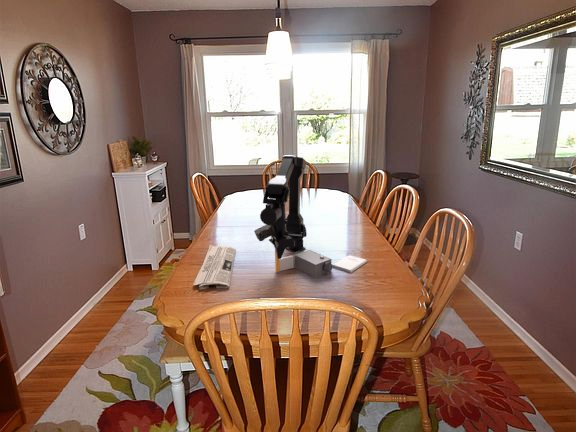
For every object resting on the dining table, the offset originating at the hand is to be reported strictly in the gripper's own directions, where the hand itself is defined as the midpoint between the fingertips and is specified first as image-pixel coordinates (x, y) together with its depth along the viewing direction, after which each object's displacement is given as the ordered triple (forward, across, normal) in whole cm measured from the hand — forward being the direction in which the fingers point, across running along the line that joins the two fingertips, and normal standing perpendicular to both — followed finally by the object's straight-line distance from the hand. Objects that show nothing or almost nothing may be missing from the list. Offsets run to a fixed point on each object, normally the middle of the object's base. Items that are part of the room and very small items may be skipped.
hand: (279, 258), depth 137 cm
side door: (+6, -3, +3) cm, 7 cm away
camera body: (+6, 0, +13) cm, 14 cm away
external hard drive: (+7, +1, +28) cm, 29 cm away
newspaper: (+6, -14, -21) cm, 26 cm away
